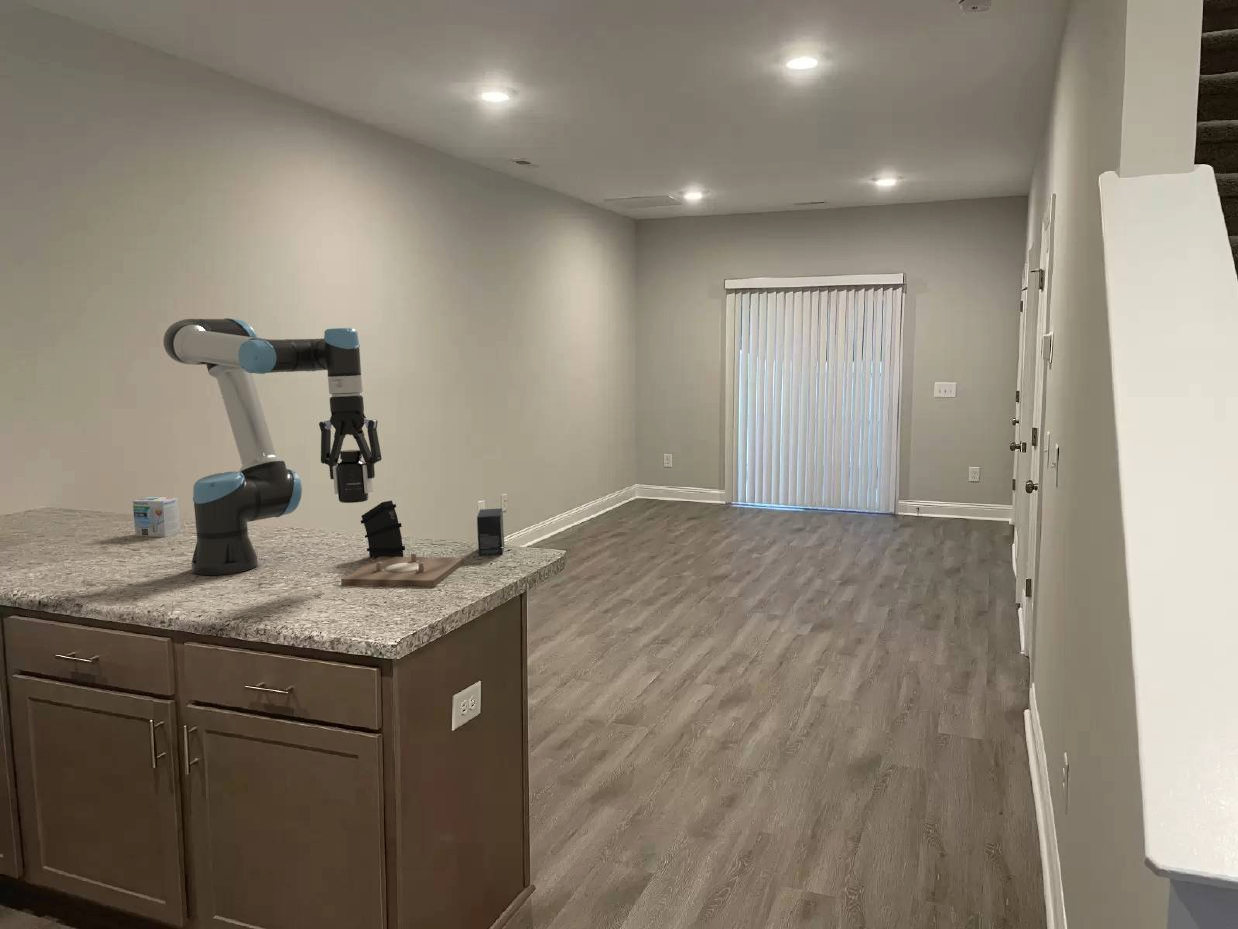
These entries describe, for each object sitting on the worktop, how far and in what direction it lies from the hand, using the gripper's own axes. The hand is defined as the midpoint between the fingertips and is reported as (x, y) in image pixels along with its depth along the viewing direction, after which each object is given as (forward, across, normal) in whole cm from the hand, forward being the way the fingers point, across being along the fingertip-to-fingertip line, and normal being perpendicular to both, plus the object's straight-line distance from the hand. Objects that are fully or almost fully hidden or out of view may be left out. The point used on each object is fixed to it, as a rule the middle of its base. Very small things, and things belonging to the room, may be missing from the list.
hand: (353, 492), depth 218 cm
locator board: (+20, +11, +2) cm, 23 cm away
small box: (+20, +24, +27) cm, 41 cm away
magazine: (+20, -2, +17) cm, 26 cm away
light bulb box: (+18, -83, +42) cm, 95 cm away
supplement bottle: (+2, 0, 0) cm, 2 cm away
